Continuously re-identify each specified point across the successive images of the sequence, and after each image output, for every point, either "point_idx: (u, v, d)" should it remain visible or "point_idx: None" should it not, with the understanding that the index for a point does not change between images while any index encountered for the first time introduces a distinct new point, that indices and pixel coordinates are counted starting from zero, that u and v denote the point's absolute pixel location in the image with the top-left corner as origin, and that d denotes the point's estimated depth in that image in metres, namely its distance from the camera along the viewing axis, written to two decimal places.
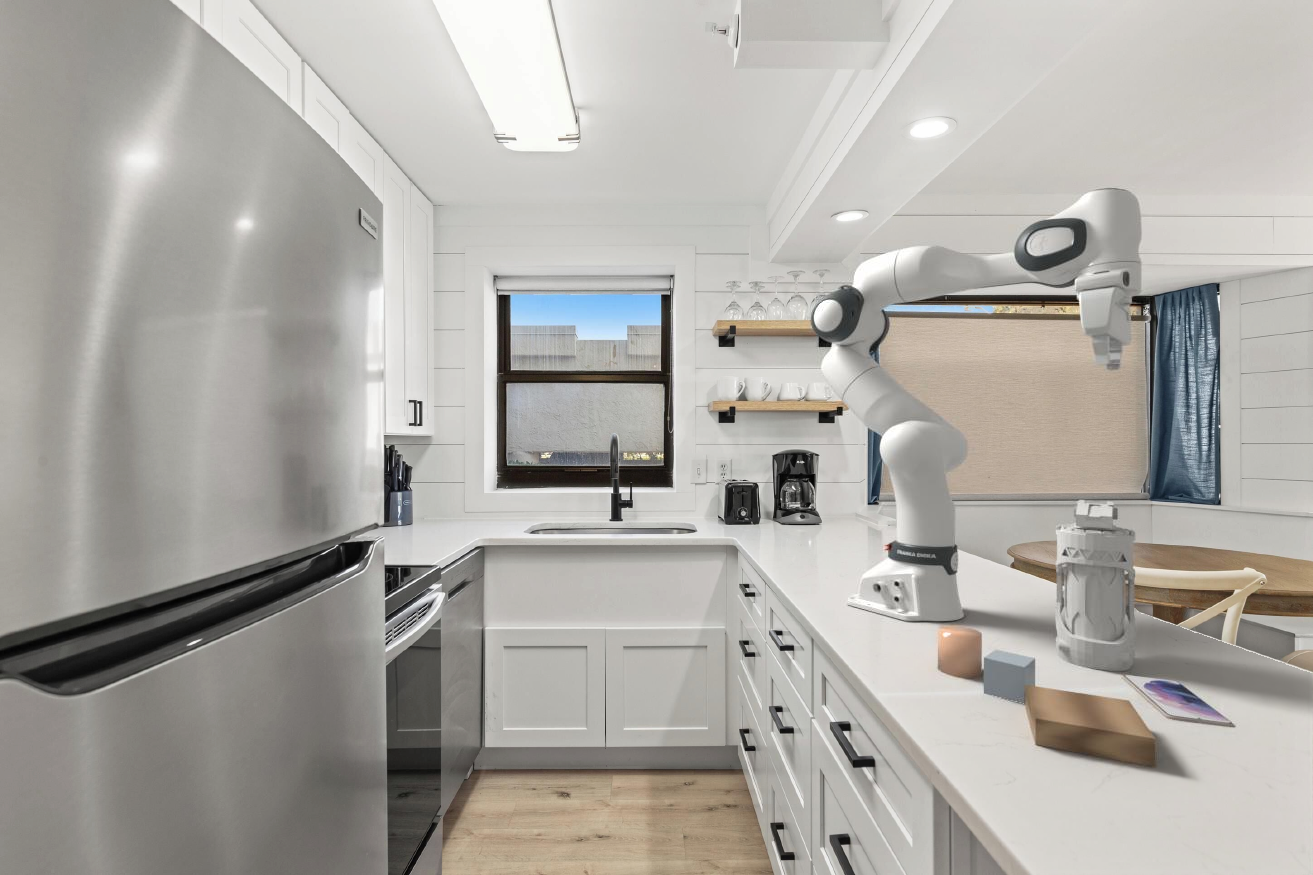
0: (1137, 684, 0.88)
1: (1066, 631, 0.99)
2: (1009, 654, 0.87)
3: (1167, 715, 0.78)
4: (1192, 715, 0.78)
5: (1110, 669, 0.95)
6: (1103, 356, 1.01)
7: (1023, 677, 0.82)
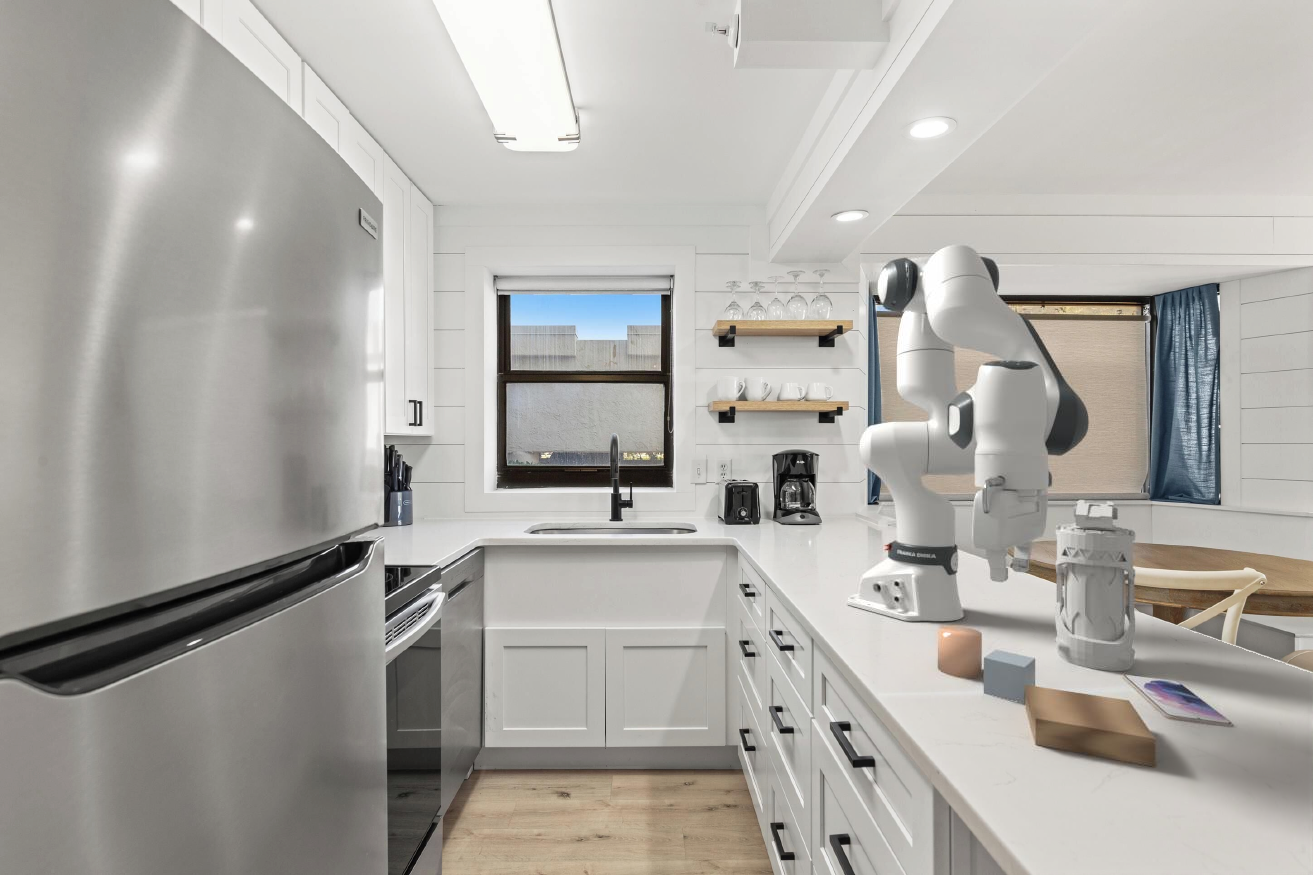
0: (1137, 684, 0.88)
1: (1066, 631, 0.99)
2: (1009, 654, 0.87)
3: (1166, 715, 0.78)
4: (1191, 715, 0.78)
5: (1110, 669, 0.95)
6: None
7: (1023, 677, 0.82)
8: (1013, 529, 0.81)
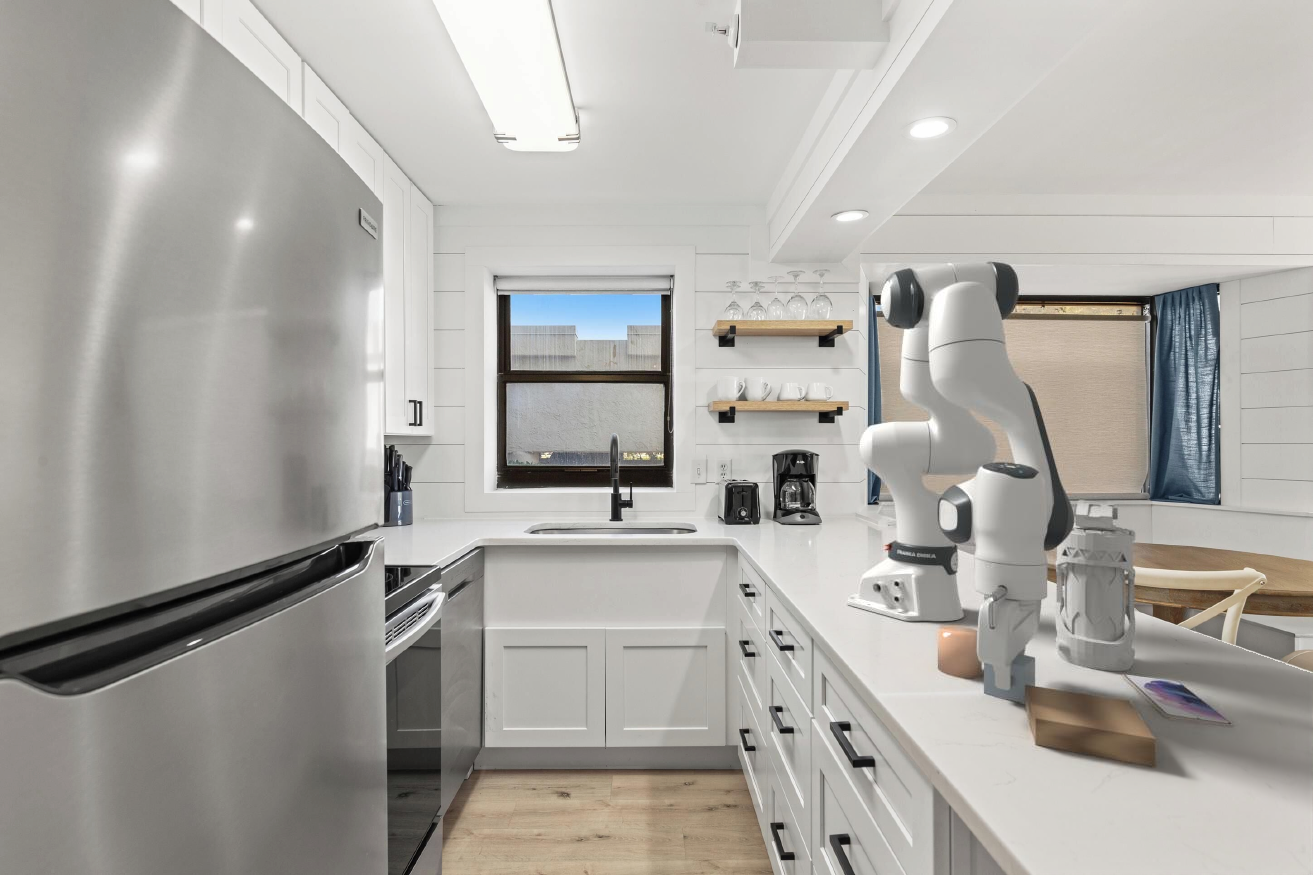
0: (1137, 684, 0.88)
1: (1066, 631, 0.99)
2: None
3: (1166, 715, 0.78)
4: (1191, 715, 0.78)
5: (1110, 669, 0.95)
6: None
7: (1023, 676, 0.82)
8: (1016, 641, 0.81)
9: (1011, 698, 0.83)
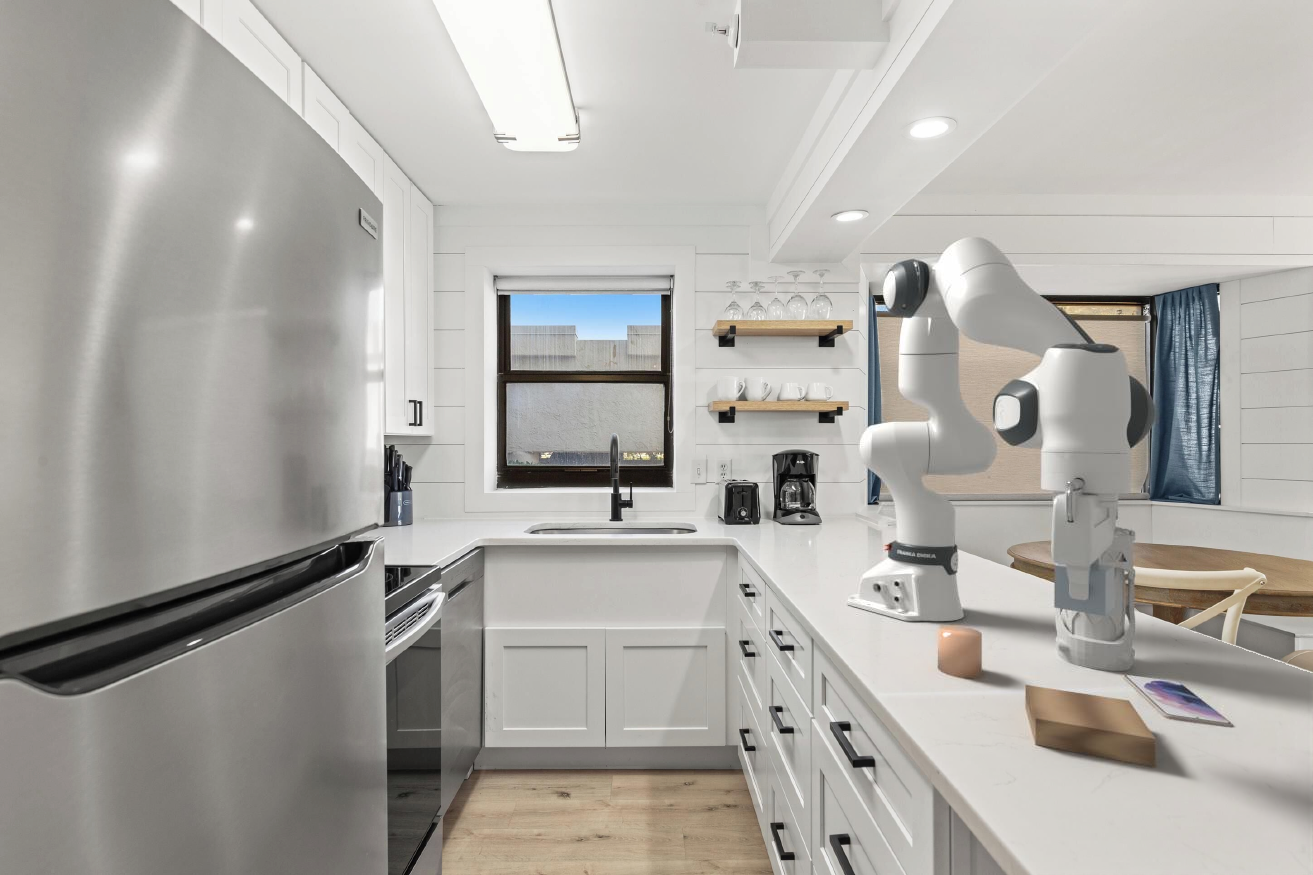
0: (1137, 684, 0.88)
1: (1066, 631, 0.99)
2: None
3: (1165, 714, 0.78)
4: (1190, 715, 0.78)
5: (1110, 669, 0.95)
6: None
7: (1104, 584, 0.70)
8: (1096, 540, 0.69)
9: (1089, 610, 0.71)
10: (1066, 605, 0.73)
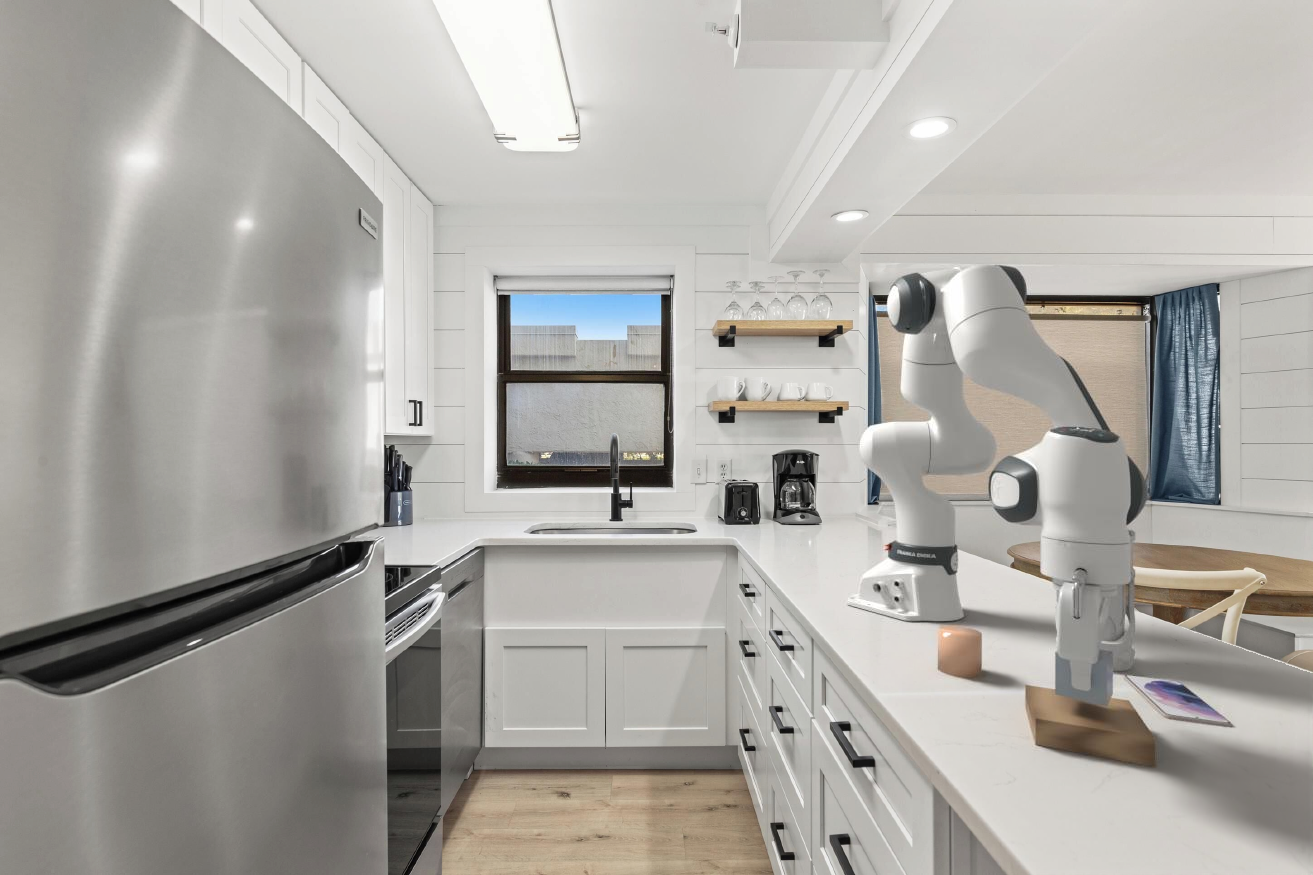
0: (1137, 684, 0.88)
1: None
2: None
3: (1165, 714, 0.79)
4: (1190, 715, 0.78)
5: None
6: None
7: (1105, 674, 0.70)
8: None
9: (1090, 700, 0.71)
10: (1067, 693, 0.73)
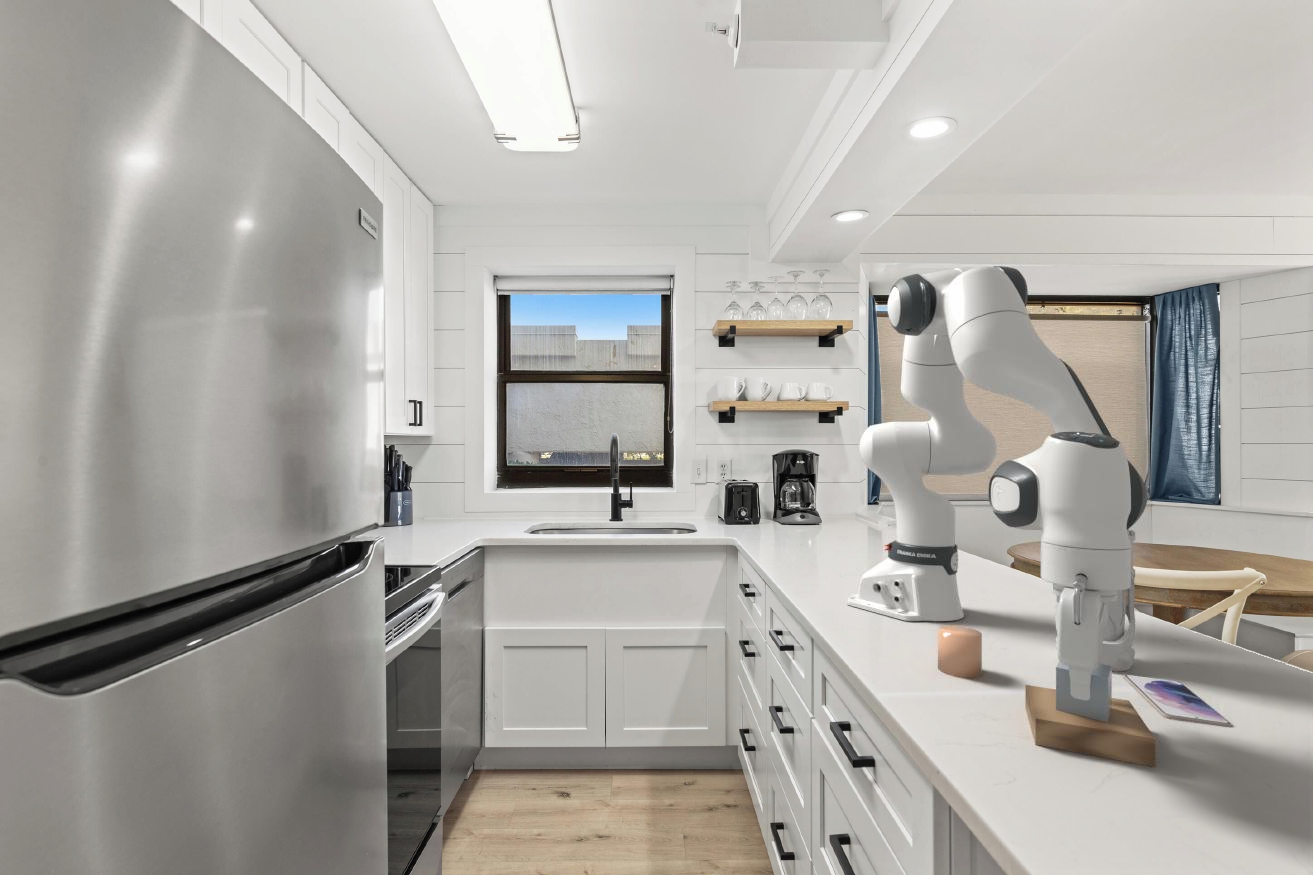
0: (1138, 684, 0.88)
1: None
2: None
3: (1164, 714, 0.79)
4: (1190, 715, 0.78)
5: None
6: None
7: (1106, 690, 0.70)
8: (1100, 638, 0.69)
9: (1091, 715, 0.71)
10: (1068, 708, 0.73)
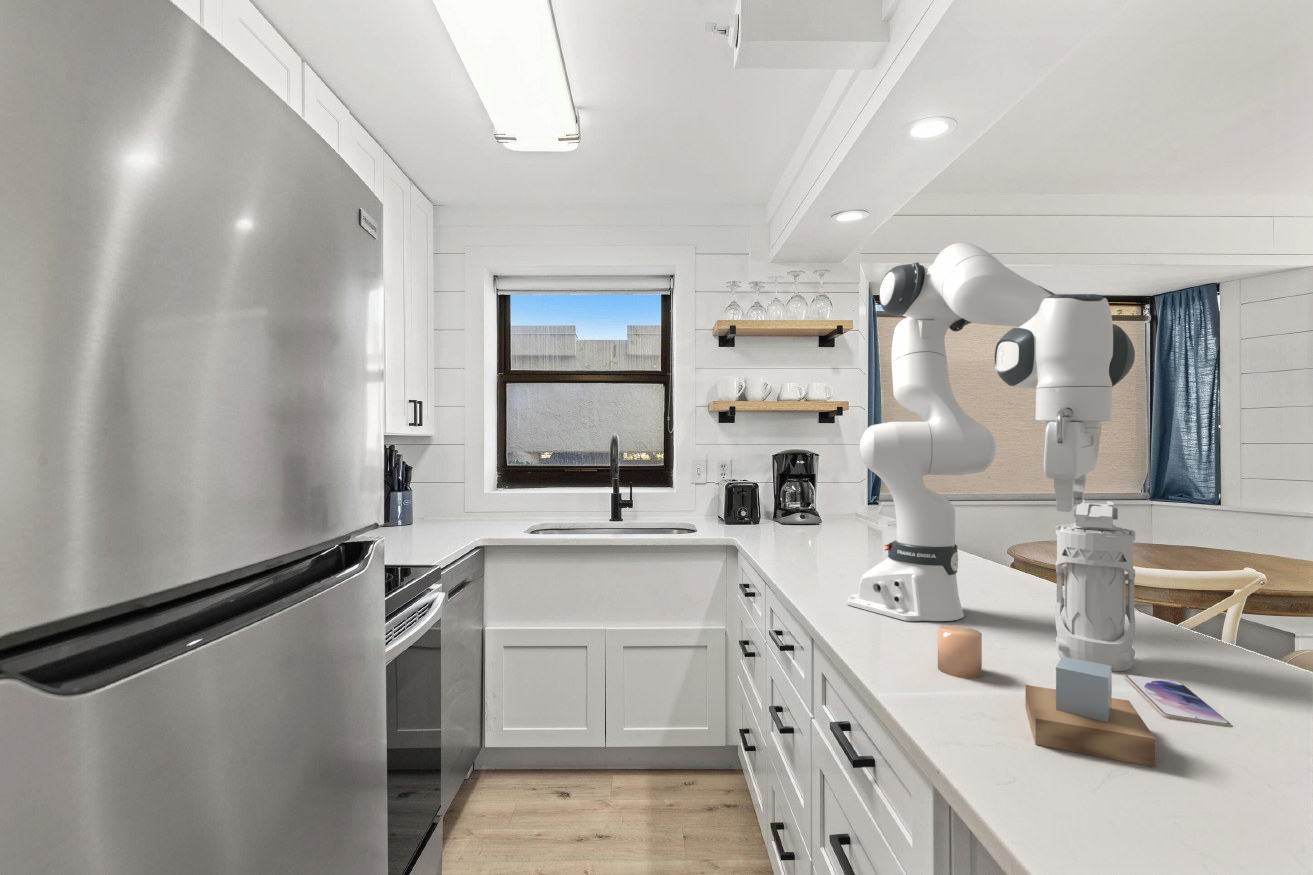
0: (1138, 684, 0.88)
1: (1066, 631, 0.99)
2: (1080, 662, 0.75)
3: (1164, 714, 0.79)
4: (1189, 715, 0.78)
5: None
6: None
7: (1106, 690, 0.70)
8: (1081, 459, 0.82)
9: (1091, 715, 0.71)
10: (1068, 708, 0.73)
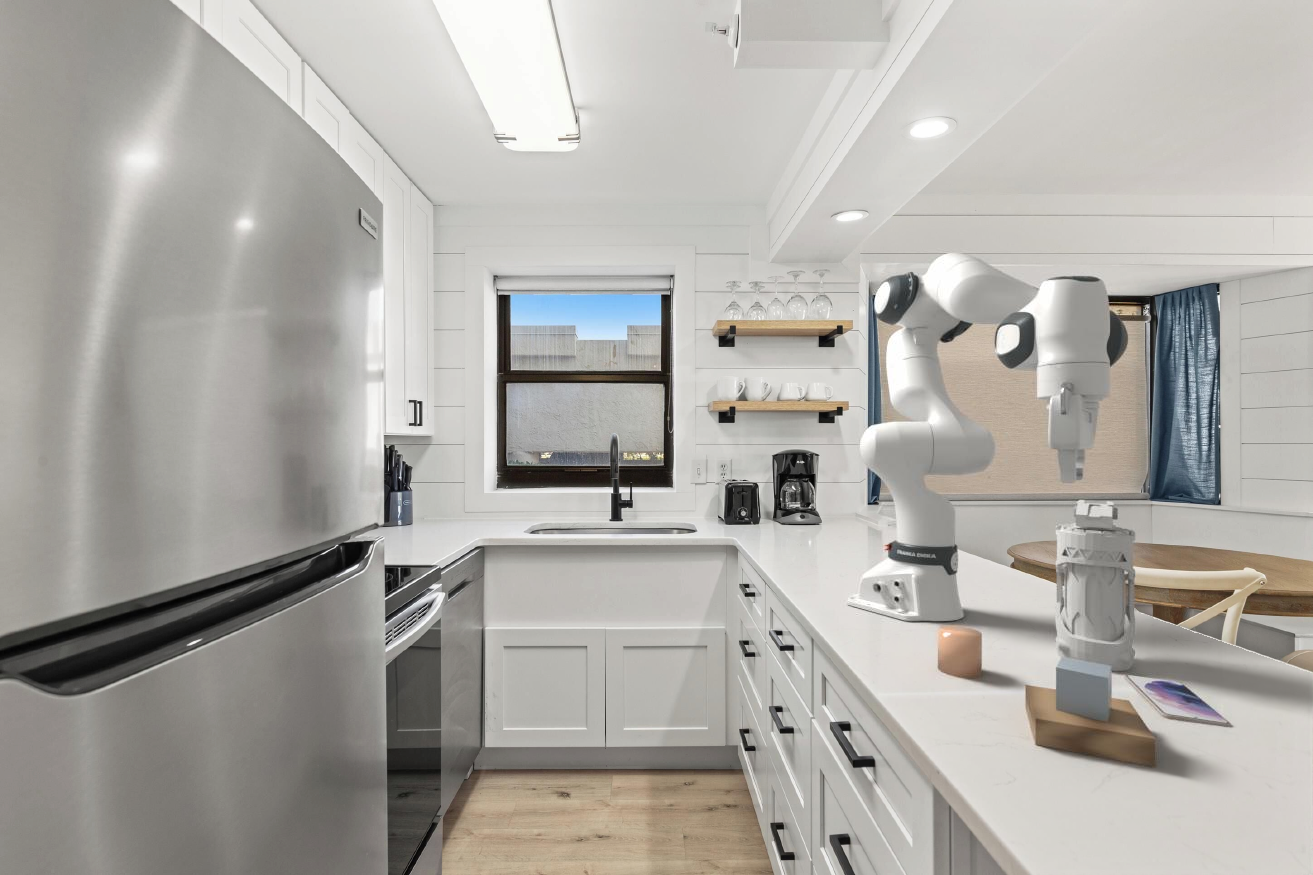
0: (1138, 684, 0.88)
1: (1066, 631, 0.99)
2: (1080, 662, 0.75)
3: (1163, 714, 0.79)
4: (1189, 715, 0.78)
5: None
6: None
7: (1106, 690, 0.70)
8: (1083, 432, 0.85)
9: (1091, 715, 0.71)
10: (1068, 708, 0.73)
